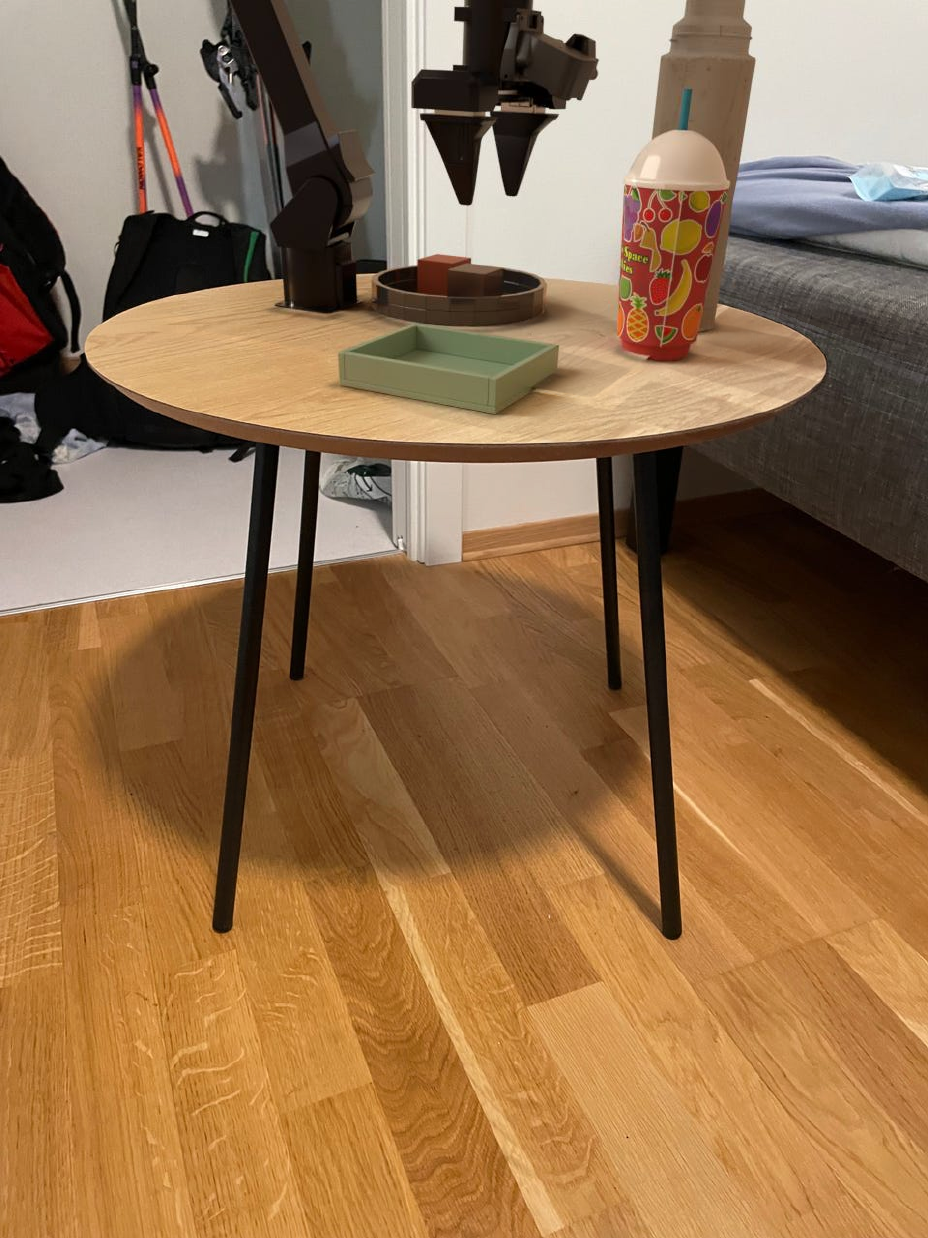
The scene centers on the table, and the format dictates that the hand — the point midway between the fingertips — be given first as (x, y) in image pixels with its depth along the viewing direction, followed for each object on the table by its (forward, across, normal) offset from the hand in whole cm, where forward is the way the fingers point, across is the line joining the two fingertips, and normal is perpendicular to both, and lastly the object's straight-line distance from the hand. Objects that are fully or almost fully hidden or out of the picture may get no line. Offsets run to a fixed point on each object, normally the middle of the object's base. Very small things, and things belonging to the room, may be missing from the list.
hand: (489, 200), depth 85 cm
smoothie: (+11, -2, -18) cm, 21 cm away
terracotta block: (+10, +4, +7) cm, 13 cm away
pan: (+11, +2, +4) cm, 12 cm away
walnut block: (+10, +1, +2) cm, 10 cm away
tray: (+11, -20, -7) cm, 23 cm away
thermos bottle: (+11, +10, -16) cm, 21 cm away
